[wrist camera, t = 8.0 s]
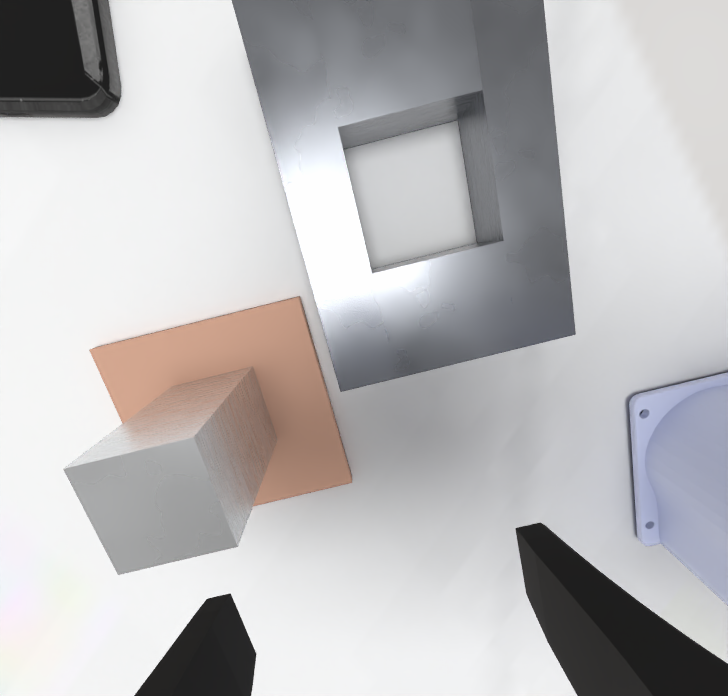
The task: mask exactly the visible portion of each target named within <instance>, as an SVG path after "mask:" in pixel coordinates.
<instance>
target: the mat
mask: <svg viewBox="0 0 728 696" xmlns="http://www.w3.org/2000/svg"><path fill="white" fill-rule="evenodd" d="M90 352H91V355H92V357H93V359H94V361H95V363H96V366H97V368H98V370H99V372H100V375H101V377H102V379H103V381H104V383H105V386H106V388H107V390H108V392H109V394H110V397H111V399H112V401H113V403H114V405H115V408H116V410H117V412H118V414H119V416H120V419H121V421H122V423H124V422H126V421H127V420H128V419H130V418H131V417H132V416H134V415H135V414H136V413H138V412H139V411H140V410H141V409H143V408H144V407H145V406H147V405H148V404H149V403H151V402H152V401H153V400H155V399H156V398H157V397H159V396H160V395H161V394H162V393H164V392H165V391H166V390H168V389H169V388H170V387H172V386H174V385H178V384H182V383H186V382H190V381H194V380H198V379H203V378H207V377H211V376H215V375H219V374H223V373H227V372H231V371H235V370H239V369H243V368H247V367H251V366H253V367H254V370H255V373H256V376H257V379H258V382H259V385H260V388H261V391H262V394H263V397H264V400H265V403H266V406H267V409H268V412H269V415H270V418H271V421H272V424H273V427H274V430H275V432H276V435H277V438H278V440H277V443H276V446H275V448H274V451H273V454H272V456H271V459H270V462H269V464H268V467H267V470H266V472H265V475H264V478H263V480H262V483H261V486H260V488H259V491H258V494H257V496H256V499H255V502H254V504H253V506H256V505H260V504H265V503H269V502H273V501H277V500H281V499H286V498H290V497H294V496H298V495H302V494H306V493H311V492H315V491H319V490H323V489H327V488H332V487H336V486H340V485H344V484H348V483H352V476H351V472H350V469H349V465H348V462H347V458H346V455H345V451H344V448H343V444H342V441H341V437H340V434H339V430H338V427H337V423H336V420H335V417H334V413H333V410H332V406H331V403H330V399H329V396H328V392H327V389H326V385H325V382H324V378H323V375H322V371H321V368H320V364H319V361H318V358H317V354H316V351H315V347H314V344H313V340H312V337H311V333H310V330H309V326H308V323H307V319H306V316H305V312H304V309H303V305H302V302H301V299H300V296H299V297H295V298H291V299H287V300H283V301H279V302H275V303H271V304H267V305H263V306H259V307H255V308H251V309H247V310H243V311H239V312H235V313H231V314H227V315H223V316H219V317H215V318H211V319H207V320H203V321H199V322H195V323H191V324H187V325H183V326H179V327H175V328H171V329H167V330H163V331H159V332H155V333H151V334H147V335H143V336H139V337H135V338H131V339H127V340H123V341H119V342H115V343H111V344H107V345H103V346H99V347H96V348H93V349H90Z"/></svg>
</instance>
